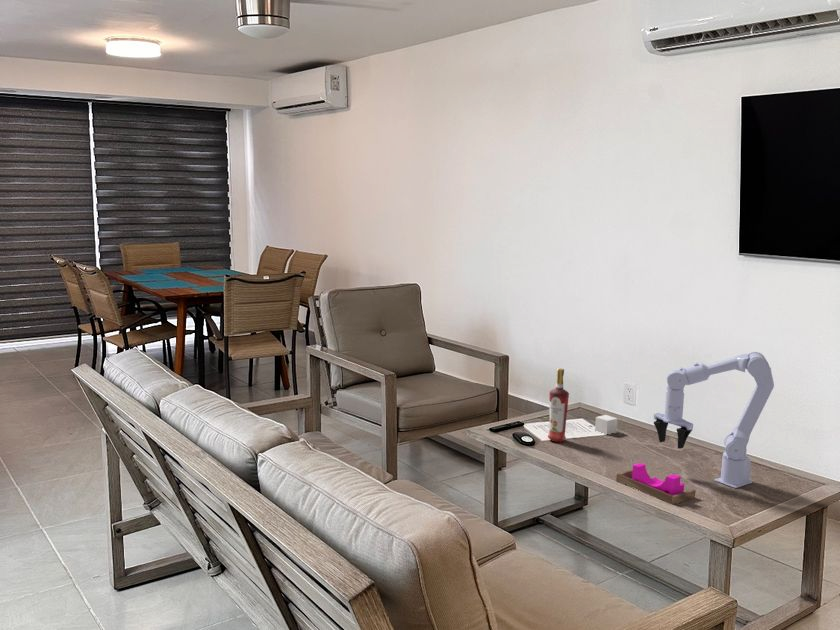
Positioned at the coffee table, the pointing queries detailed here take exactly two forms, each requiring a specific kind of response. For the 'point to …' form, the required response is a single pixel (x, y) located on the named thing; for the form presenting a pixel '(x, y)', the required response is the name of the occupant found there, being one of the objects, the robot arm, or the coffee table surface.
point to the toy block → (668, 486)
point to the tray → (626, 479)
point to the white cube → (606, 424)
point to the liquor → (558, 409)
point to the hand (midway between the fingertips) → (671, 444)
